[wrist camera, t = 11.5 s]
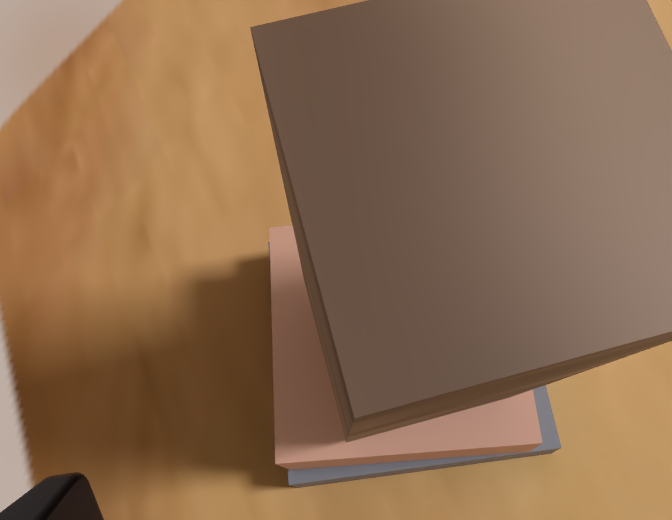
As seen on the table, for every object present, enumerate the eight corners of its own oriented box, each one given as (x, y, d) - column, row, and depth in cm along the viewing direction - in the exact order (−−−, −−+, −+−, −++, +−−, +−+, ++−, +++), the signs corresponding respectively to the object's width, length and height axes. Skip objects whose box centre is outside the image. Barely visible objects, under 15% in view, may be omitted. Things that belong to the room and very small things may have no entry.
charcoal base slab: (493, 232, 23) (499, 204, 21) (547, 455, 20) (561, 447, 18) (281, 266, 24) (268, 242, 22) (301, 488, 21) (289, 484, 19)
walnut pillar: (457, 242, 18) (618, -57, 8) (510, 397, 17) (793, 297, 6) (304, 281, 18) (250, 26, 7) (346, 442, 16) (355, 418, 6)
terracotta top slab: (490, 233, 21) (498, 202, 19) (528, 451, 18) (542, 443, 16) (283, 255, 22) (269, 227, 20) (290, 470, 19) (275, 463, 17)
